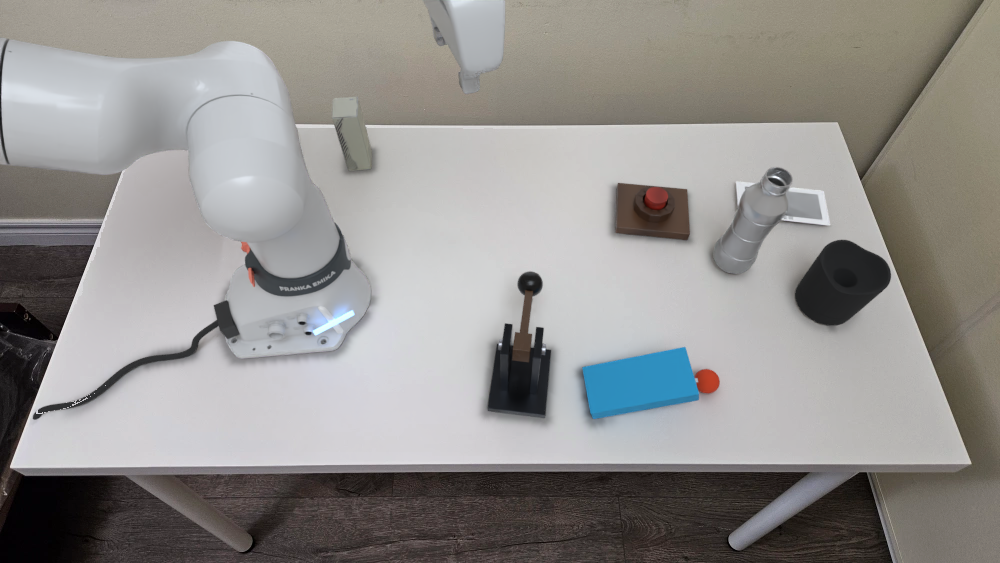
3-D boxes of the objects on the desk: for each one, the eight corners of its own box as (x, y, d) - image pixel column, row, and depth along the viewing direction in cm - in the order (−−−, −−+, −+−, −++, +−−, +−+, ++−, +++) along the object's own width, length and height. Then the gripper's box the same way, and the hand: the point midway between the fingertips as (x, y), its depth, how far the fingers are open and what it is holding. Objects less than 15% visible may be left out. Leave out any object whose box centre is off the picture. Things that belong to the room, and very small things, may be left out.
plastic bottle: (747, 246, 95) (799, 160, 78) (752, 281, 92) (808, 197, 75) (707, 243, 96) (751, 156, 79) (711, 277, 92) (758, 194, 75)
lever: (518, 282, 83) (519, 264, 81) (542, 284, 83) (544, 267, 80) (506, 362, 74) (507, 345, 71) (534, 365, 73) (536, 349, 71)
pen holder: (807, 333, 86) (839, 298, 78) (781, 281, 91) (809, 243, 83) (865, 324, 87) (904, 289, 79) (836, 273, 92) (869, 235, 84)
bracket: (497, 347, 85) (496, 302, 75) (550, 353, 85) (557, 309, 74) (487, 411, 80) (485, 373, 69) (544, 418, 79) (551, 381, 69)
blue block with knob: (597, 429, 83) (726, 406, 80) (590, 413, 77) (728, 388, 74) (589, 384, 87) (711, 361, 83) (582, 367, 81) (713, 341, 78)
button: (644, 209, 96) (646, 202, 94) (643, 192, 98) (646, 185, 96) (665, 211, 95) (668, 204, 94) (665, 194, 97) (667, 187, 96)
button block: (615, 233, 97) (618, 220, 94) (616, 189, 102) (619, 175, 99) (687, 240, 96) (693, 227, 93) (684, 195, 101) (690, 181, 98)
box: (349, 152, 108) (331, 96, 97) (372, 150, 108) (358, 94, 97) (348, 172, 105) (330, 117, 94) (372, 170, 105) (357, 115, 94)
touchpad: (733, 185, 103) (737, 176, 101) (820, 195, 101) (826, 186, 99) (736, 219, 98) (740, 210, 97) (827, 229, 97) (833, 221, 95)
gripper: (382, -115, 56) (403, 22, 67) (441, -19, 44) (455, 127, 55) (444, -124, 57) (455, 12, 68) (518, -34, 45) (517, 112, 56)
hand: (455, 64), depth 62 cm, fingers open, 8 cm apart
